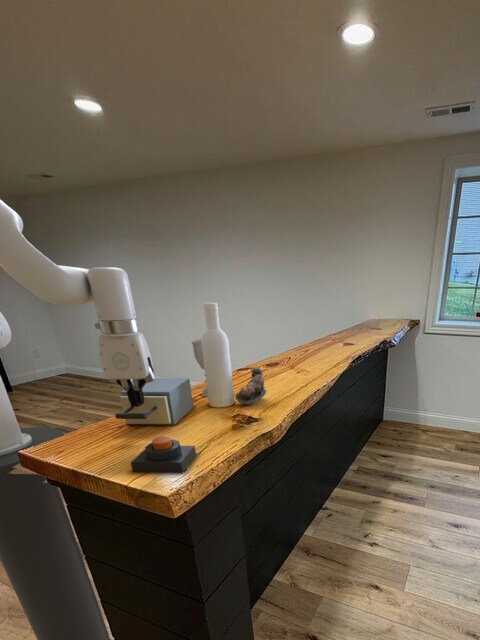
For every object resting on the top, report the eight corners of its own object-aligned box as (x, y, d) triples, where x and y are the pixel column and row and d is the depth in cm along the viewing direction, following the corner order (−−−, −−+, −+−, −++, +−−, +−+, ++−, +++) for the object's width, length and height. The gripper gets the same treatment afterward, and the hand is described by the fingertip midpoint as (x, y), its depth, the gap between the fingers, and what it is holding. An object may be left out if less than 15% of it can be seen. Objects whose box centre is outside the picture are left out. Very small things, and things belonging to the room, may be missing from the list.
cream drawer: (157, 434, 85) (151, 406, 82) (110, 434, 84) (103, 406, 82) (187, 407, 104) (184, 383, 101) (149, 407, 103) (145, 383, 101)
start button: (150, 451, 70) (148, 443, 69) (158, 443, 73) (156, 436, 73) (168, 451, 70) (166, 443, 69) (175, 443, 73) (173, 436, 73)
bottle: (230, 398, 115) (220, 302, 103) (238, 405, 109) (228, 303, 97) (206, 402, 111) (192, 302, 99) (212, 409, 105) (199, 303, 93)
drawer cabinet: (174, 424, 93) (169, 392, 89) (127, 424, 93) (120, 391, 89) (193, 407, 106) (189, 378, 103) (152, 406, 106) (146, 377, 103)
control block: (132, 472, 69) (128, 454, 68) (150, 454, 77) (147, 437, 75) (182, 472, 69) (179, 454, 68) (196, 454, 77) (193, 438, 75)
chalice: (220, 391, 123) (214, 339, 116) (220, 396, 117) (213, 342, 110) (199, 392, 121) (191, 339, 114) (197, 397, 115) (189, 342, 108)
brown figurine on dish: (251, 408, 106) (248, 376, 102) (231, 406, 108) (228, 374, 104) (270, 397, 116) (268, 368, 112) (251, 395, 118) (249, 366, 114)
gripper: (76, 330, 75) (98, 410, 82) (145, 329, 75) (161, 410, 82) (97, 326, 82) (116, 400, 89) (160, 326, 82) (174, 400, 89)
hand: (137, 404), depth 86 cm, fingers closed
